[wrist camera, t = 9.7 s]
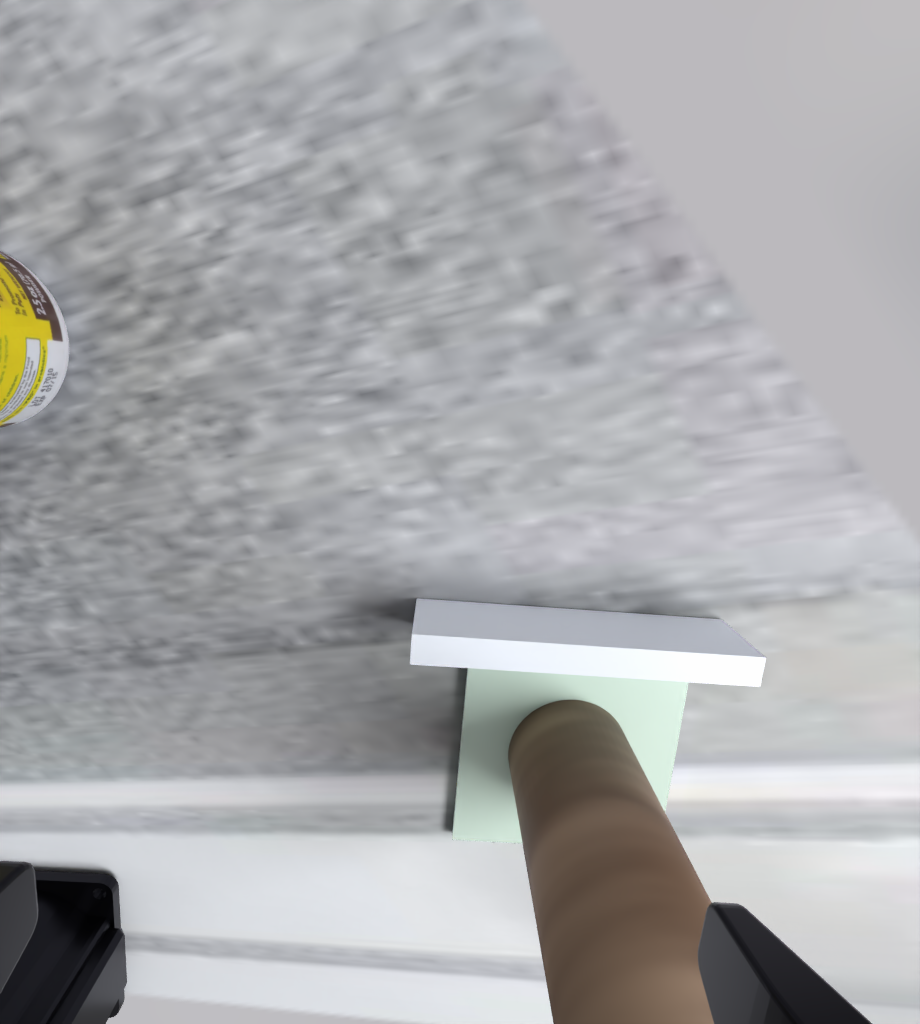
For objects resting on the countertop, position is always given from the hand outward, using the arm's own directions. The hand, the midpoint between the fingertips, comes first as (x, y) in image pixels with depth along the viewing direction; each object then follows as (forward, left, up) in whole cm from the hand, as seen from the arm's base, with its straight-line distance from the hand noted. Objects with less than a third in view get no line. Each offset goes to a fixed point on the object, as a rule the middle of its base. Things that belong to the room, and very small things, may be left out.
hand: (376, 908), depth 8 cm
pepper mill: (+6, -6, -13) cm, 15 cm away
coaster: (+6, -6, -13) cm, 16 cm away
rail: (+5, -1, -13) cm, 14 cm away
